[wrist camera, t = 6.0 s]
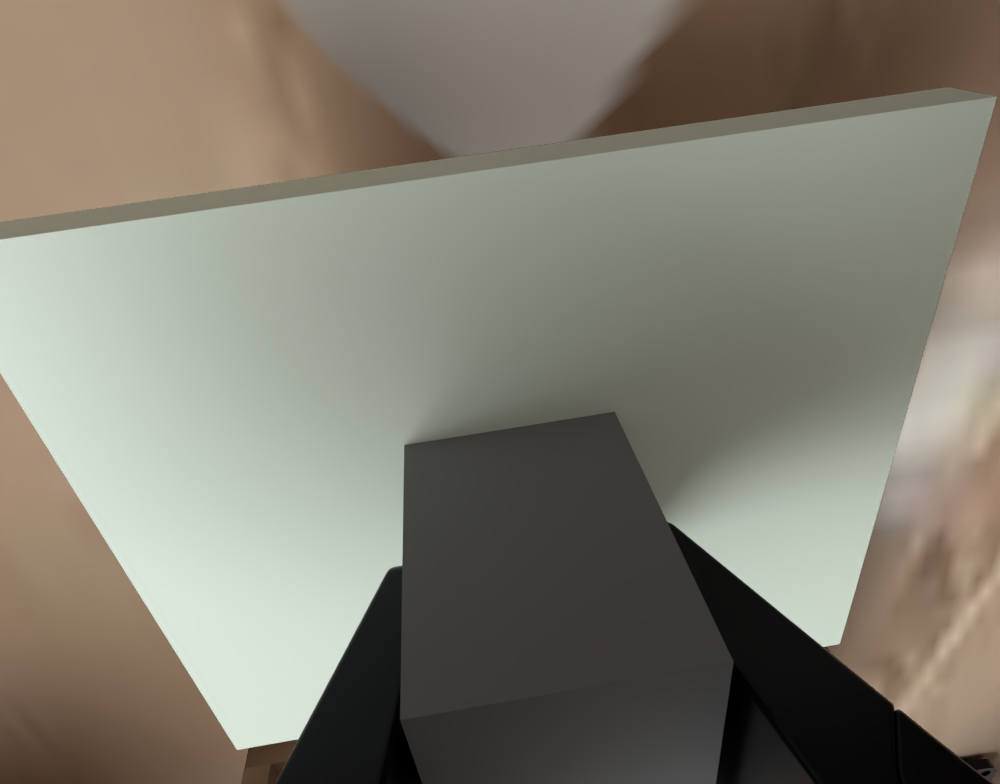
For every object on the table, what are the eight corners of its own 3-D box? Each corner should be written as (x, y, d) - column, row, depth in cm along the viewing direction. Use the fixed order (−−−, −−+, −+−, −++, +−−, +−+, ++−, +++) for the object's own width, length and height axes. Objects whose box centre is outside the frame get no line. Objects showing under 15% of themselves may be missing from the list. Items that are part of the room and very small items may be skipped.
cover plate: (947, 87, 8) (1489, 192, 4) (818, 611, 14) (990, 877, 9) (-33, 226, 8) (-541, 505, 4) (245, 710, 13) (172, 1034, 9)
